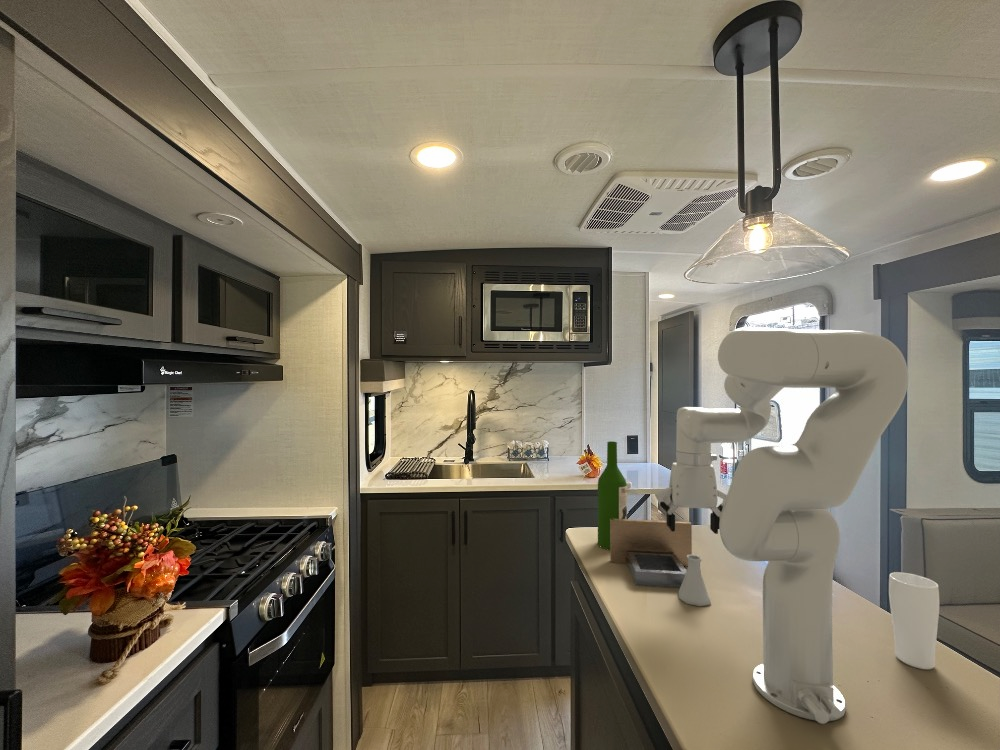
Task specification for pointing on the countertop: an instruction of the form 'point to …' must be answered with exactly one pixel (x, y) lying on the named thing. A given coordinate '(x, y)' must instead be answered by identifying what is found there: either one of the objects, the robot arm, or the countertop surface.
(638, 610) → the countertop surface
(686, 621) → the countertop surface
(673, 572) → the cup bracket
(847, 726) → the countertop surface
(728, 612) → the countertop surface
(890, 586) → the drinking glass
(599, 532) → the wine bottle
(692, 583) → the flask
